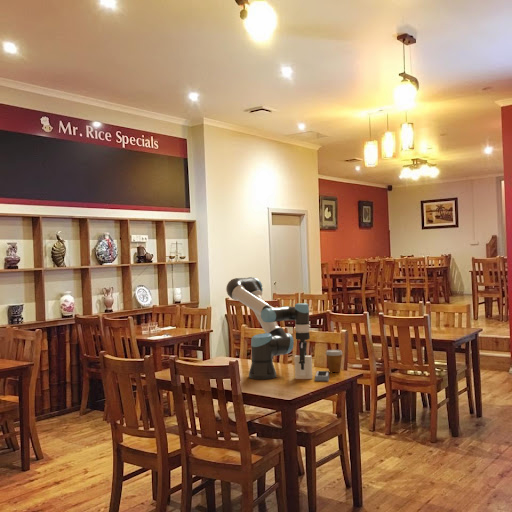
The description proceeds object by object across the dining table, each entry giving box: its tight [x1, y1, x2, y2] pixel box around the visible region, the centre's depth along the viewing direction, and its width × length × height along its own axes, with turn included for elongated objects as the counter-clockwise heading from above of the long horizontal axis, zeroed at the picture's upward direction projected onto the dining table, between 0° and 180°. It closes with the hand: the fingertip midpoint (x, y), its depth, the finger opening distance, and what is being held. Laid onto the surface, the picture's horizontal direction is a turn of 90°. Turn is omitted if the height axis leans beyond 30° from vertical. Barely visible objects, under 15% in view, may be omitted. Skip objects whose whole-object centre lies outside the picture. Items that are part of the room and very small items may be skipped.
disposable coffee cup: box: [325, 349, 343, 373], centre depth 313 cm, size 10×10×12 cm
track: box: [314, 370, 330, 382], centre depth 296 cm, size 7×14×3 cm, turn 170°
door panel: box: [294, 355, 313, 380], centre depth 297 cm, size 9×3×12 cm, turn 80°
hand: (303, 373), depth 298 cm, fingers open, 8 cm apart
